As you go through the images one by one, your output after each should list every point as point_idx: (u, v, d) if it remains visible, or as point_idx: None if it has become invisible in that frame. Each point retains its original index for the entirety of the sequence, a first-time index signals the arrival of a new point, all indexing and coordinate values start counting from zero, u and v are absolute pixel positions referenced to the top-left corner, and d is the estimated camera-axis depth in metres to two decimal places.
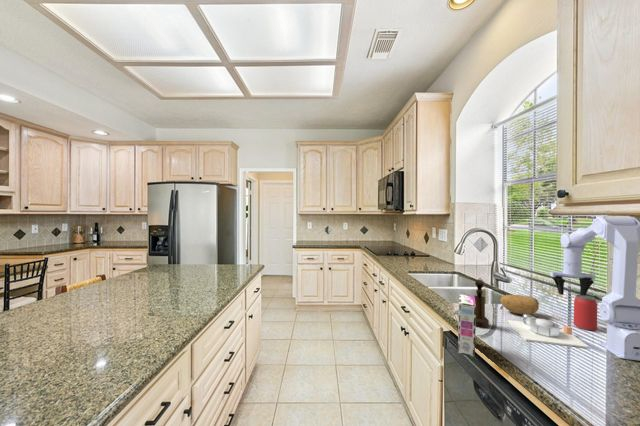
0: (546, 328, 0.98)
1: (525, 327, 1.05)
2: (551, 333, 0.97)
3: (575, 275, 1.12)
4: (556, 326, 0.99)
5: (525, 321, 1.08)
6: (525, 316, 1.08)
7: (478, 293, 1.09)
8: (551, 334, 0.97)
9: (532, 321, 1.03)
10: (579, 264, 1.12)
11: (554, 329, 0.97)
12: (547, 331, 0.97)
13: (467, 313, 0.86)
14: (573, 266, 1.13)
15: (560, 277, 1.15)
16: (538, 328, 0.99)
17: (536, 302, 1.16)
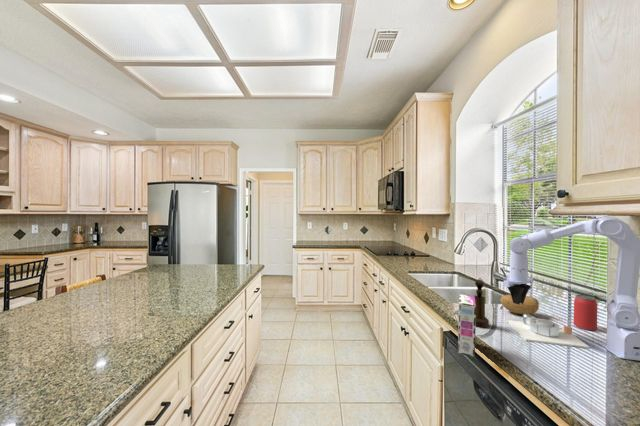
0: (546, 328, 0.98)
1: (525, 327, 1.05)
2: (551, 333, 0.97)
3: (526, 282, 1.03)
4: (556, 326, 0.99)
5: (525, 321, 1.08)
6: (525, 316, 1.08)
7: (478, 293, 1.09)
8: (551, 334, 0.97)
9: (532, 321, 1.03)
10: (527, 269, 1.03)
11: (554, 329, 0.97)
12: (547, 331, 0.97)
13: (467, 313, 0.86)
14: (524, 272, 1.03)
15: (517, 285, 1.04)
16: (538, 328, 0.99)
17: (536, 302, 1.16)
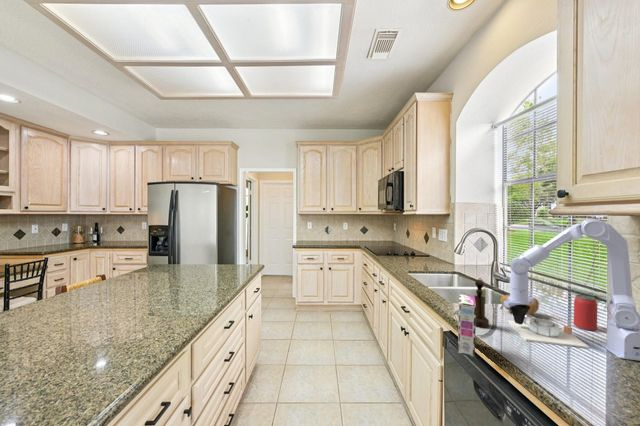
0: (546, 328, 0.98)
1: (525, 327, 1.05)
2: (551, 333, 0.97)
3: (526, 303, 1.03)
4: (556, 326, 0.99)
5: (525, 321, 1.08)
6: (525, 316, 1.08)
7: (478, 293, 1.09)
8: (551, 334, 0.97)
9: (532, 321, 1.03)
10: None
11: (554, 329, 0.97)
12: (547, 331, 0.97)
13: (467, 313, 0.86)
14: (524, 293, 1.03)
15: (519, 305, 1.05)
16: (538, 328, 0.99)
17: (536, 302, 1.16)
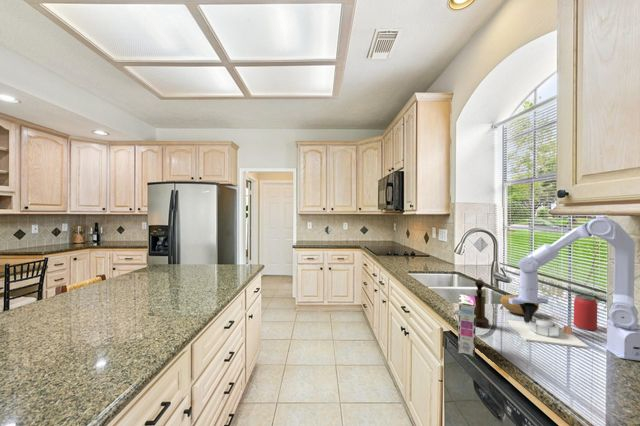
0: (545, 328, 0.98)
1: (525, 327, 1.05)
2: (550, 333, 0.97)
3: (533, 301, 1.04)
4: (556, 326, 0.98)
5: None
6: None
7: (478, 293, 1.09)
8: (550, 334, 0.97)
9: (532, 321, 1.03)
10: (536, 289, 1.04)
11: (553, 329, 0.97)
12: (546, 331, 0.98)
13: (467, 313, 0.86)
14: (531, 292, 1.04)
15: (529, 304, 1.06)
16: (537, 328, 1.00)
17: None
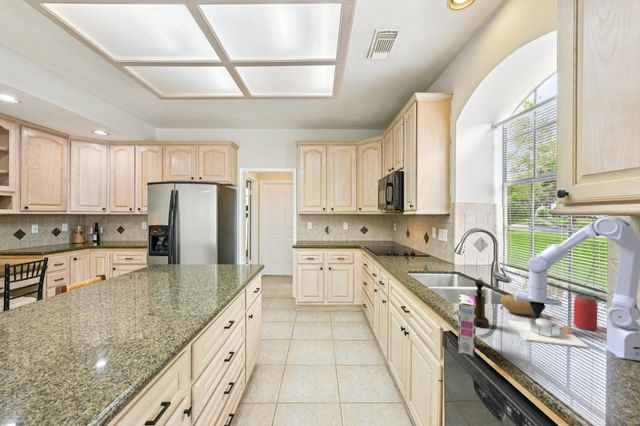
0: (536, 325, 1.00)
1: (525, 327, 1.05)
2: (541, 331, 0.99)
3: (538, 300, 1.05)
4: (552, 327, 0.98)
5: None
6: None
7: (478, 293, 1.09)
8: (541, 332, 0.99)
9: (533, 319, 1.05)
10: (543, 289, 1.04)
11: (545, 328, 0.98)
12: (537, 328, 1.00)
13: (467, 313, 0.86)
14: (537, 291, 1.05)
15: (536, 303, 1.07)
16: (531, 325, 1.02)
17: None
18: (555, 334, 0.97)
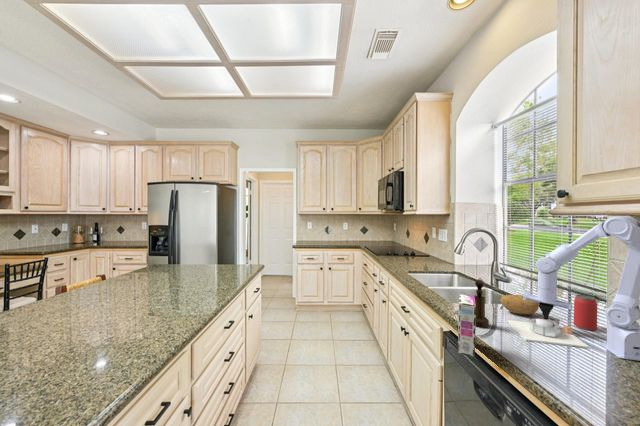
0: (532, 323, 1.02)
1: (525, 327, 1.05)
2: (534, 329, 1.00)
3: (544, 301, 1.04)
4: (546, 326, 0.98)
5: None
6: (549, 319, 1.06)
7: (478, 293, 1.09)
8: (535, 330, 1.00)
9: None
10: (549, 290, 1.03)
11: (538, 326, 0.99)
12: (532, 326, 1.02)
13: (467, 313, 0.86)
14: (542, 291, 1.05)
15: (544, 304, 1.06)
16: (529, 323, 1.04)
17: (536, 302, 1.16)
18: (549, 334, 0.97)
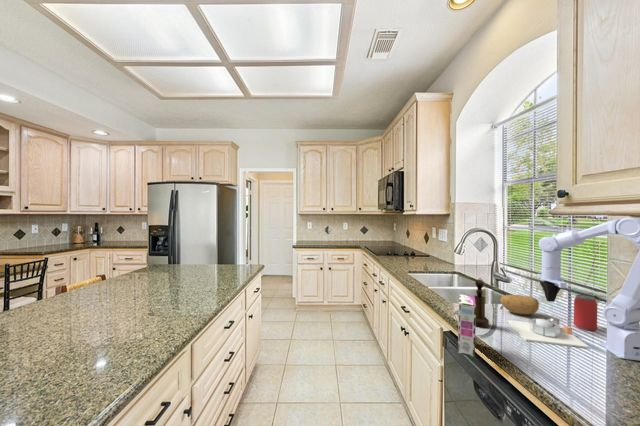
0: (531, 323, 1.02)
1: (525, 327, 1.05)
2: (534, 329, 1.00)
3: (541, 278, 1.09)
4: (546, 326, 0.98)
5: None
6: (549, 319, 1.06)
7: (478, 293, 1.09)
8: (535, 330, 1.00)
9: None
10: (545, 267, 1.07)
11: (538, 326, 0.99)
12: (532, 326, 1.02)
13: (467, 313, 0.86)
14: (542, 268, 1.09)
15: (546, 282, 1.09)
16: (529, 323, 1.04)
17: (536, 302, 1.16)
18: (549, 334, 0.97)
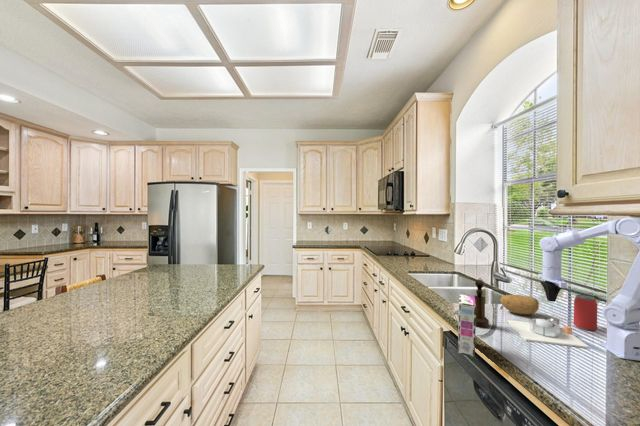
0: (531, 323, 1.02)
1: (525, 327, 1.05)
2: (534, 329, 1.00)
3: (542, 278, 1.09)
4: (546, 326, 0.98)
5: None
6: (549, 319, 1.06)
7: (478, 293, 1.09)
8: (535, 330, 1.00)
9: None
10: (545, 267, 1.07)
11: (538, 326, 0.99)
12: (532, 326, 1.02)
13: (467, 313, 0.86)
14: None
15: (547, 282, 1.09)
16: (529, 323, 1.04)
17: (536, 302, 1.16)
18: (549, 334, 0.97)
